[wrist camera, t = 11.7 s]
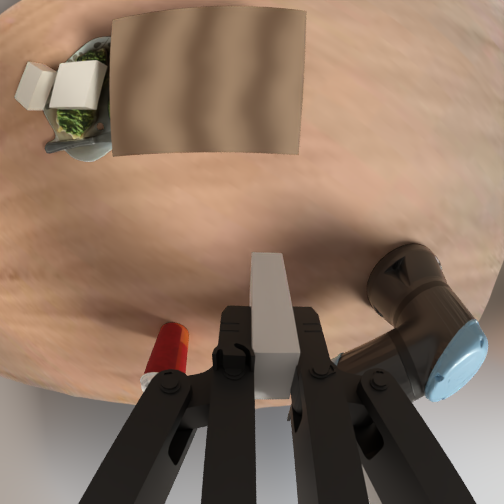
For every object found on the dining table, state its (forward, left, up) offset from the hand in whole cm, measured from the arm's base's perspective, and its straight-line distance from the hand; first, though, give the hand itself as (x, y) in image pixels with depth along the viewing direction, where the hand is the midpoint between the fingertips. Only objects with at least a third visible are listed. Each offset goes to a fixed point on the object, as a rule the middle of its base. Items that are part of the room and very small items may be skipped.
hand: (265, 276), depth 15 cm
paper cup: (+14, +32, -27) cm, 44 cm away
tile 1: (+22, -12, -20) cm, 33 cm away
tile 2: (+32, -14, -26) cm, 43 cm away
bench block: (+6, -11, -27) cm, 29 cm away
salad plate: (+22, -10, -27) cm, 36 cm away
